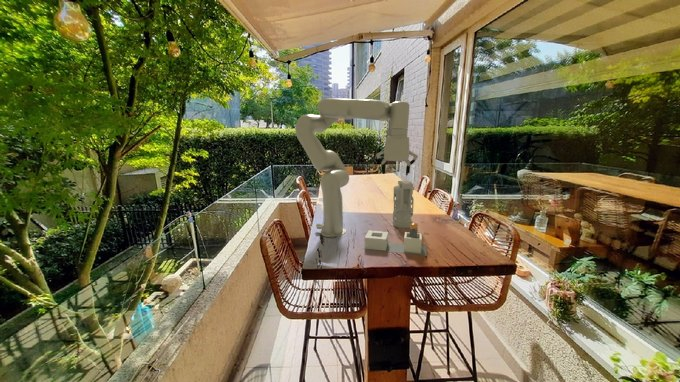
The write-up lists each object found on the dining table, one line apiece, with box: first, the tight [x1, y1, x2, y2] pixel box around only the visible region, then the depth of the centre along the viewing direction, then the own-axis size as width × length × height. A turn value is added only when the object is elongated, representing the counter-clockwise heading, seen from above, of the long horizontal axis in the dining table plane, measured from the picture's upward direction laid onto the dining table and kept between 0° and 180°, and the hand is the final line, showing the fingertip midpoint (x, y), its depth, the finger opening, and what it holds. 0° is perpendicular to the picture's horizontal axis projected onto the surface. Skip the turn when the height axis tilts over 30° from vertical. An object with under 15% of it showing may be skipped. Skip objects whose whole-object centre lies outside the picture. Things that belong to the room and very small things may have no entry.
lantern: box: [392, 180, 415, 229], centre depth 140 cm, size 13×10×25 cm
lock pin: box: [409, 222, 419, 238], centre depth 110 cm, size 3×3×11 cm
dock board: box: [361, 229, 427, 259], centre depth 113 cm, size 26×10×7 cm, turn 74°
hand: (395, 174), depth 114 cm, fingers open, 9 cm apart
